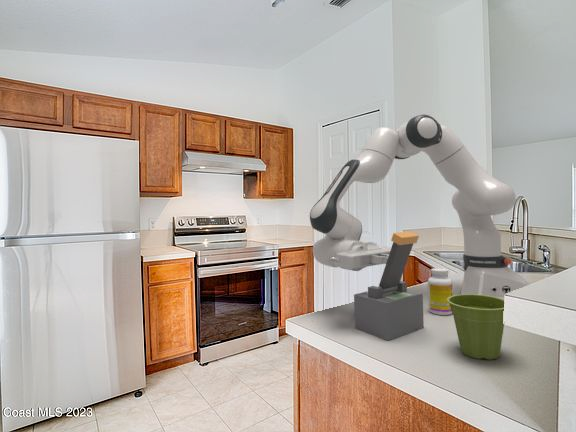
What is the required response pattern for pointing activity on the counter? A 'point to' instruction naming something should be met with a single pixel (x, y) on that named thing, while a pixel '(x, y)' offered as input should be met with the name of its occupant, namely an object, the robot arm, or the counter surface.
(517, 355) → the counter surface
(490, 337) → the plant pot
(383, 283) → the lever
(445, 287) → the supplement bottle
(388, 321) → the box
